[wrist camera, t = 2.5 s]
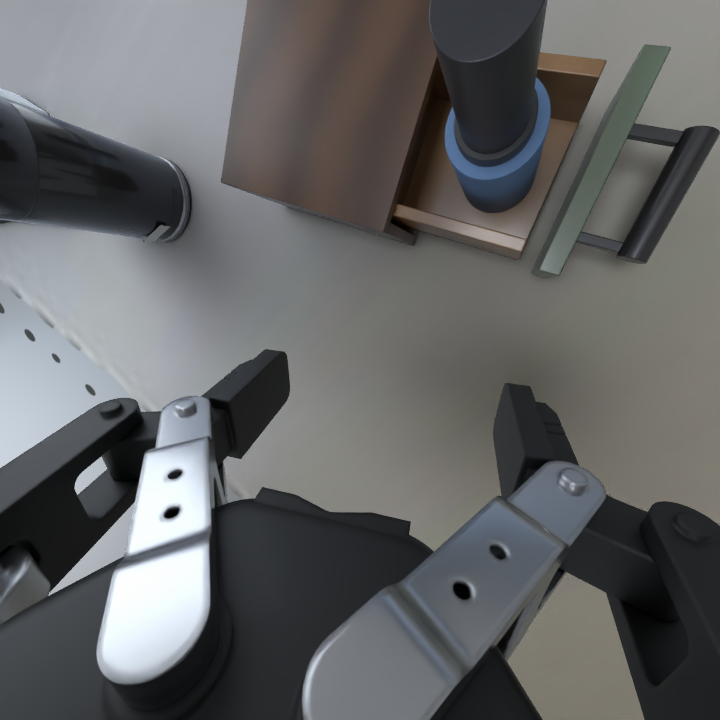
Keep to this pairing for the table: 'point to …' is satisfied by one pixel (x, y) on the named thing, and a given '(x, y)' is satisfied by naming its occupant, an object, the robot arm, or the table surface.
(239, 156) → the cabinet
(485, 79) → the black and blue cylinder
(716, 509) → the table surface
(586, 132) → the table surface
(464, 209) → the drawer
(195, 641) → the robot arm
